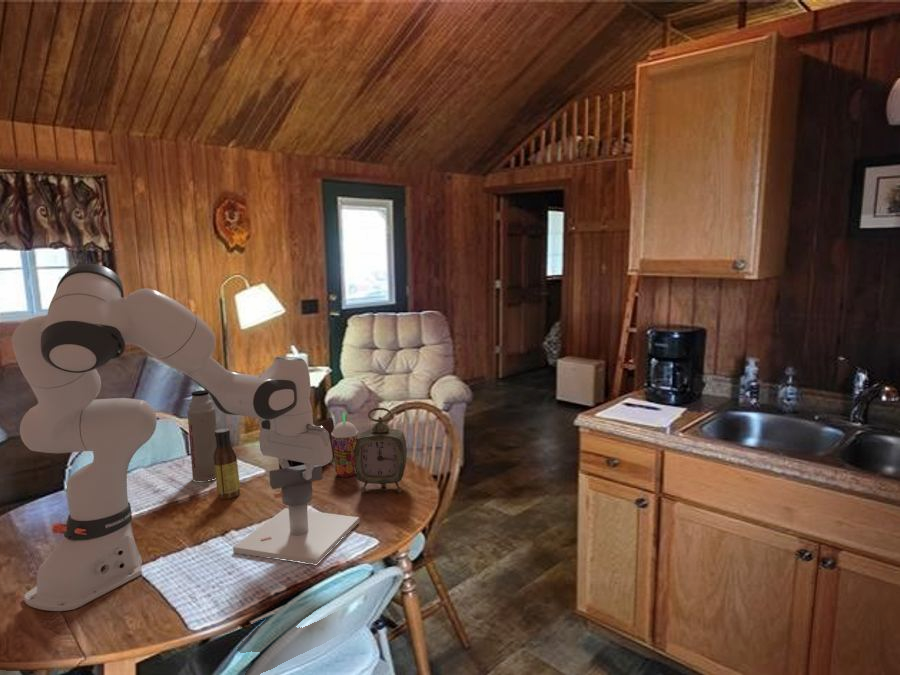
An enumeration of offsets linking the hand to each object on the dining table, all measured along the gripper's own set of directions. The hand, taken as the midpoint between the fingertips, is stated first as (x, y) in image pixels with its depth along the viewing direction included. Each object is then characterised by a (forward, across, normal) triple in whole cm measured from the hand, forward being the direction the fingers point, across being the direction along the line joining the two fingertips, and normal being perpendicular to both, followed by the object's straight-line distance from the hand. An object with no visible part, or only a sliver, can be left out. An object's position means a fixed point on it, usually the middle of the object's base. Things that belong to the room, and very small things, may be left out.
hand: (297, 476), depth 141 cm
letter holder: (+16, +34, -42) cm, 56 cm away
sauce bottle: (+16, +37, -10) cm, 41 cm away
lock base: (+16, 0, 0) cm, 16 cm away
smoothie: (+16, +15, -38) cm, 44 cm away
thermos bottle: (+16, +54, -17) cm, 59 cm away
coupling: (+6, 0, 0) cm, 6 cm away
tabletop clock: (+16, -2, -34) cm, 37 cm away
